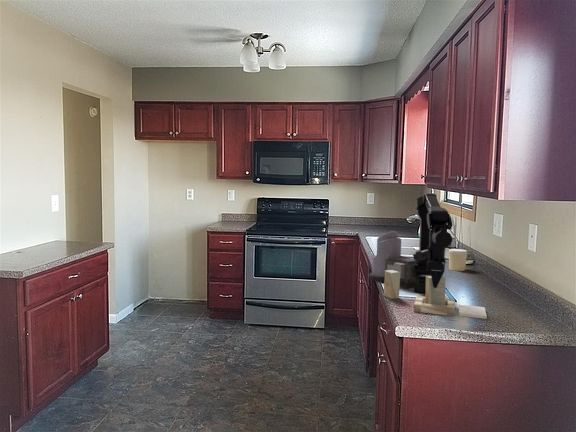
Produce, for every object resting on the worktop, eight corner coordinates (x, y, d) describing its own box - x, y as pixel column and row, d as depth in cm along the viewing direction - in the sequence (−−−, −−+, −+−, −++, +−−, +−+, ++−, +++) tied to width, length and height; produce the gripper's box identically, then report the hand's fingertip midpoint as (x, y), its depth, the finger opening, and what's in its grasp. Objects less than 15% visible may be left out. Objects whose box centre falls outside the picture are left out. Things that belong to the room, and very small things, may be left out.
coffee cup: (458, 270, 245) (459, 248, 244) (470, 273, 236) (471, 251, 235) (444, 271, 242) (444, 249, 241) (455, 274, 233) (456, 251, 233)
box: (383, 296, 184) (384, 270, 183) (391, 295, 186) (392, 269, 185) (391, 299, 179) (391, 272, 179) (399, 298, 181) (400, 271, 180)
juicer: (360, 278, 220) (362, 229, 218) (386, 275, 228) (387, 228, 226) (402, 291, 194) (404, 235, 192) (429, 288, 201) (432, 234, 199)
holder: (416, 302, 176) (417, 295, 176) (454, 306, 171) (454, 299, 171) (413, 311, 163) (413, 304, 163) (454, 316, 158) (454, 309, 158)
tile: (458, 307, 170) (458, 304, 170) (484, 309, 167) (484, 307, 167) (458, 315, 159) (459, 313, 159) (486, 318, 156) (486, 316, 156)
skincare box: (440, 307, 170) (442, 275, 169) (445, 310, 165) (446, 277, 164) (424, 307, 169) (425, 275, 169) (428, 310, 165) (429, 277, 164)
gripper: (416, 239, 177) (415, 278, 178) (412, 245, 160) (410, 288, 161) (446, 241, 173) (444, 280, 174) (445, 247, 156) (443, 291, 157)
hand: (435, 285), depth 167 cm, fingers open, 9 cm apart
